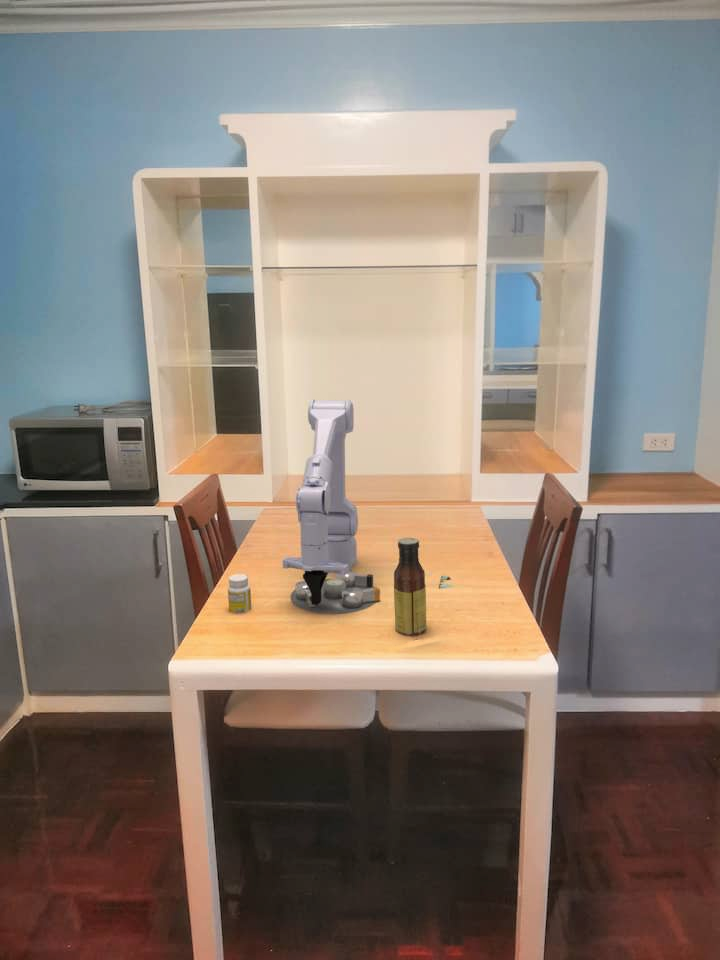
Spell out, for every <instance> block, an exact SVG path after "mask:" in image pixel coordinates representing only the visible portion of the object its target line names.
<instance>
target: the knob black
mask: <svg viewBox="0 0 720 960" xmlns="http://www.w3.org/2000/svg"><path fill="white" fill-rule="evenodd" d="M336 579H340V580H343V581H345V582H346V588H351V587H354V586H367V587H372V586H373V587H374V574H372V573H371V574H370V573H369V574H365V573H357V571H356V570H353V569H348V574H347V575H345V576H341V575H340V574H336Z"/></svg>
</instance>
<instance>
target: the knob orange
mask: <svg viewBox="0 0 720 960" xmlns="http://www.w3.org/2000/svg"><path fill="white" fill-rule="evenodd" d="M373 587H374V588H370V589H364V590H361V589H359V588H346V589H343V590H342V605H343V606H344V607H347V608H357V607H360V606H362V605H363V603H365V602H370V601H377V602H378V601H380V600H381V595H380V594H381V593H380V592H381V590H380V588H379V587H377V586H376V587H375V586H373Z"/></svg>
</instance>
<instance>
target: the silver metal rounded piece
mask: <svg viewBox="0 0 720 960" xmlns="http://www.w3.org/2000/svg"><path fill="white" fill-rule="evenodd" d="M295 589H296V598H297V599H299V600H306V602H307V604H308V606H309V607H315V606H316V605H313V604H312V601H311V592H310V589H309V587H308V585H307V583H306V582H305V580H299V581H297V582H296V583H295V588H294V590H295Z"/></svg>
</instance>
